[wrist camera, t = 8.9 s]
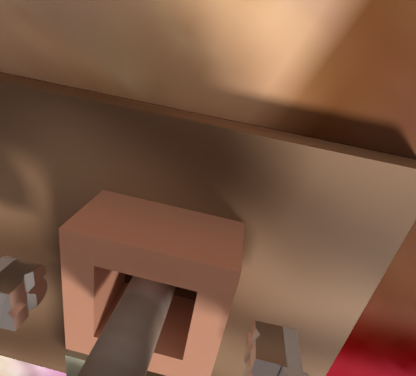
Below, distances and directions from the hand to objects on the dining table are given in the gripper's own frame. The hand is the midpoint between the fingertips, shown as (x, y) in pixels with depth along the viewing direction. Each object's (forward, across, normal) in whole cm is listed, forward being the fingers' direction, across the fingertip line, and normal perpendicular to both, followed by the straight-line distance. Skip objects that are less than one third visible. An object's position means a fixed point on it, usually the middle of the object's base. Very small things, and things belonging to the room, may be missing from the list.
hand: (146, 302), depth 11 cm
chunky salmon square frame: (+2, 0, 0) cm, 2 cm away
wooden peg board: (+4, +1, +2) cm, 4 cm away
